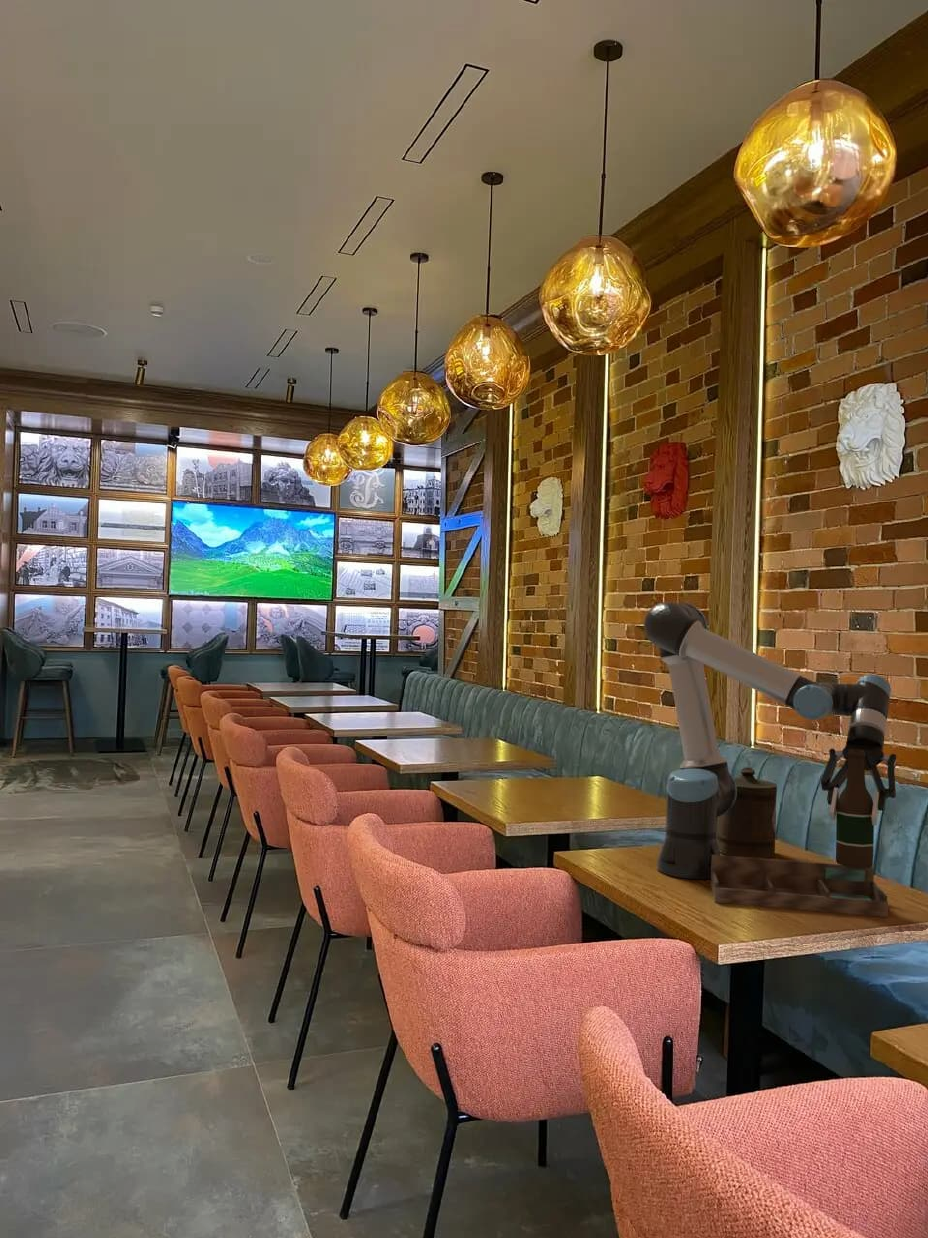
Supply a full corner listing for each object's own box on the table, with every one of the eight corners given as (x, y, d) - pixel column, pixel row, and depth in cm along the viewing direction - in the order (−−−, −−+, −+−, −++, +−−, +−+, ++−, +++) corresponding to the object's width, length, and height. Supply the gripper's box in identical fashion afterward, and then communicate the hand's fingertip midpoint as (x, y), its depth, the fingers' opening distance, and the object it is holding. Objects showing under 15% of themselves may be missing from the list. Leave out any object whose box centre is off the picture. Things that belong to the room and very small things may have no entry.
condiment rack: (714, 902, 196) (715, 869, 196) (710, 886, 209) (711, 854, 209) (887, 917, 189) (888, 882, 190) (872, 899, 202) (873, 867, 202)
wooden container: (787, 857, 238) (790, 771, 239) (740, 861, 233) (742, 772, 233) (749, 844, 252) (751, 762, 252) (703, 847, 247) (706, 764, 247)
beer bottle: (829, 858, 201) (831, 747, 201) (865, 860, 201) (867, 748, 201) (842, 868, 193) (844, 751, 193) (880, 869, 193) (882, 752, 193)
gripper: (917, 749, 205) (907, 836, 191) (820, 741, 215) (804, 823, 201) (915, 726, 200) (905, 814, 186) (816, 719, 211) (799, 802, 197)
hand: (852, 818), depth 194 cm, fingers closed on beer bottle, 7 cm apart
